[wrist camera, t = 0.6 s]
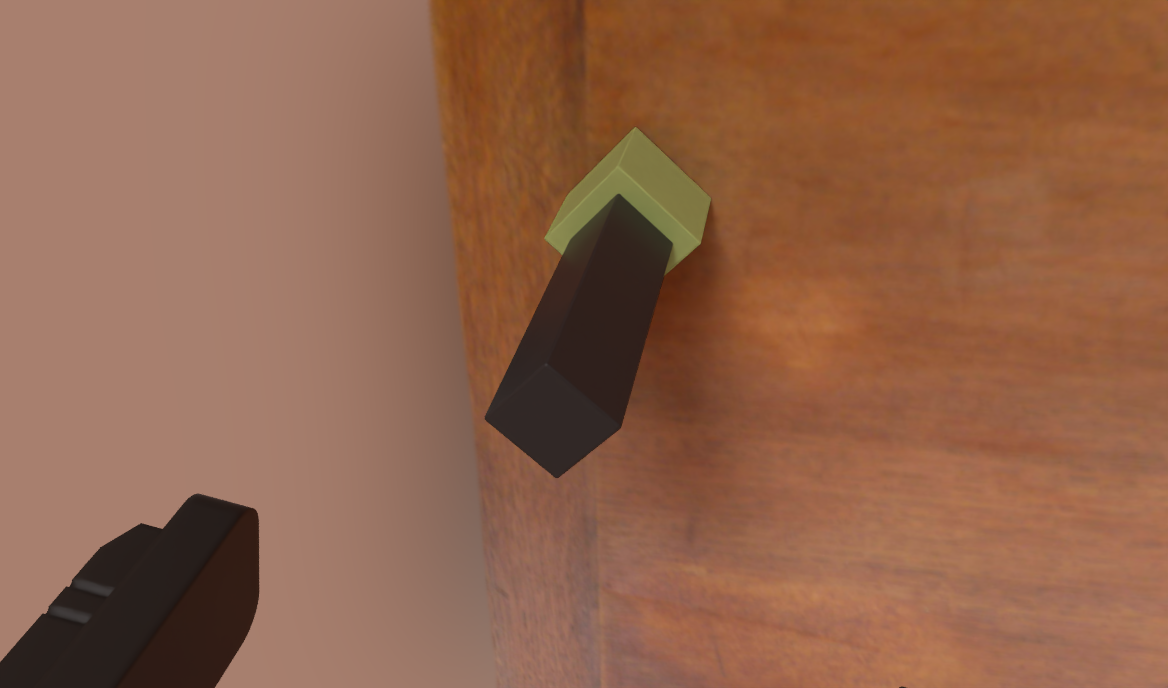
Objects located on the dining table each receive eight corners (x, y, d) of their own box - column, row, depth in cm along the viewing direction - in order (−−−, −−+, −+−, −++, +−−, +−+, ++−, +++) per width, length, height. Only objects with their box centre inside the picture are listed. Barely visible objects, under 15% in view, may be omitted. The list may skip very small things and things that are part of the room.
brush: (566, 195, 36) (448, 417, 25) (635, 125, 34) (542, 331, 23) (640, 262, 37) (559, 507, 26) (712, 198, 35) (658, 431, 24)
